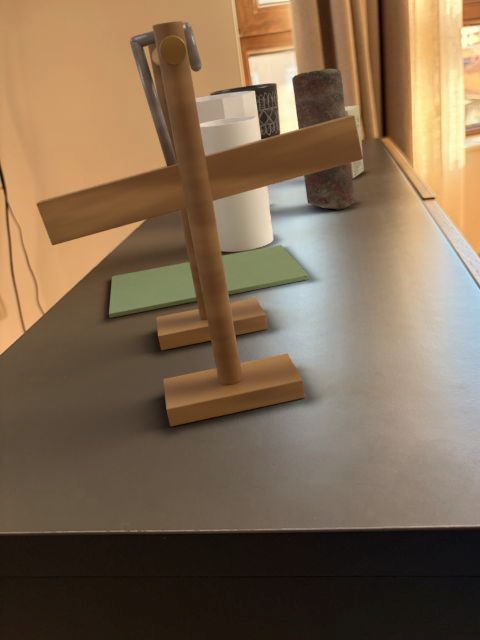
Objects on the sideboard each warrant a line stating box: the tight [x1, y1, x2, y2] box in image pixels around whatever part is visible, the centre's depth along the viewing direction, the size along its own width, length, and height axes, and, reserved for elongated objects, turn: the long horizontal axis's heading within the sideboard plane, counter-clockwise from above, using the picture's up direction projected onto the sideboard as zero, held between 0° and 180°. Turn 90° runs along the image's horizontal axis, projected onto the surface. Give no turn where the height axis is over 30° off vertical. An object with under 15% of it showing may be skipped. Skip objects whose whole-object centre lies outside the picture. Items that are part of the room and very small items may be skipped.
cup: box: [200, 116, 274, 253], centre depth 85 cm, size 8×8×16 cm
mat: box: [108, 244, 310, 319], centre depth 76 cm, size 14×22×1 cm, turn 101°
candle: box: [291, 68, 355, 211], centre depth 97 cm, size 8×7×20 cm
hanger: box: [36, 21, 364, 246], centre depth 46 cm, size 2×24×12 cm, turn 97°
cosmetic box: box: [345, 104, 365, 179], centre depth 119 cm, size 6×4×12 cm
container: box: [195, 91, 271, 207], centre depth 104 cm, size 14×14×18 cm
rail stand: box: [147, 20, 306, 427], centre depth 50 cm, size 19×10×26 cm, turn 11°
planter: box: [209, 82, 281, 139], centre depth 126 cm, size 13×13×18 cm
